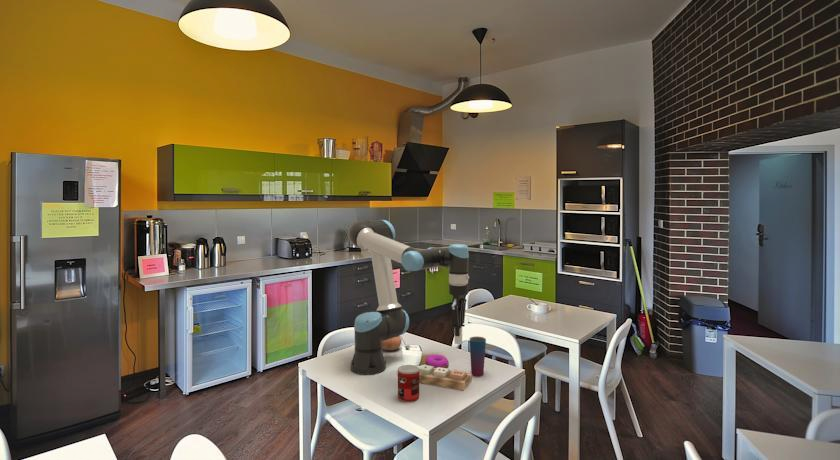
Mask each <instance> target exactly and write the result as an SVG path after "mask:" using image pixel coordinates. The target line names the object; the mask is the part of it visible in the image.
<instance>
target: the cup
mask: <svg viewBox="0 0 840 460" xmlns="http://www.w3.org/2000/svg"><path fill="white" fill-rule="evenodd" d="M486 343H487V339H486V338H485V337H483V336H477V335H476V336H470V337H469V353H470V355H469V356H470V370H471V371H470V372H471V373H470V374H472V377H473V376H474V377H482V376H484V373H485V371H484V370H485V358H486V346H487V345H486Z"/></svg>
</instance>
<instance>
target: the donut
mask: <svg viewBox="0 0 840 460" xmlns="http://www.w3.org/2000/svg"><path fill="white" fill-rule="evenodd" d="M424 362H425V364H424V365H428V366H434V368H438V367H441V368H447V367H448V365H449V359H448V358H447V357H446V356H445V355H442V354H436V353H435V354H429V355H428V356H426V357H425V359H424Z"/></svg>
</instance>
